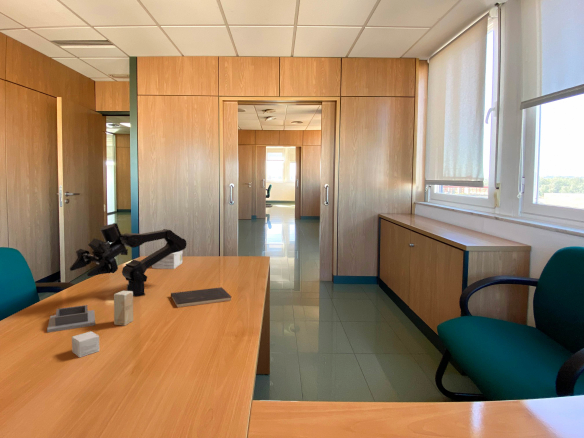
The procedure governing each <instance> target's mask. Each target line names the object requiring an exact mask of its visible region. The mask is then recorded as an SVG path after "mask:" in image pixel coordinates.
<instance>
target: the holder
mask: <svg viewBox="0 0 584 438" xmlns="http://www.w3.org/2000/svg"><path fill="white" fill-rule="evenodd" d="M92 326H96V316H95V310H94V309H91V310H88V304H85V305H83V304H82V305H77V306H70V307H68V306H67V307H61V308H56V312H55V314H54V315H50V316H49V321H48V325H47V328H46V329H47V330H46V332H47V334H48V333H53V332H58V331H59V332H60V331H67V330H71V329H72V330H73V329H78V328H84V327H85V328H86V327H92Z"/></svg>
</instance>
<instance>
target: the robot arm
mask: <svg viewBox="0 0 584 438" xmlns="http://www.w3.org/2000/svg"><path fill="white" fill-rule="evenodd" d="M99 230H100V234H101V235H102V237H103V239H104V241H103V240H101V239H98V238H93V239H92V240H91V241H89V243H88V247H90V248H91V249H92V251H91V253H90V251H89V250H86V249H83V248H79V249H78V250H76V252H75V253H76V260H75V261H74V262H73V264H72V265H71V266H70V267H69V271H70V272H72V271H73V272H74V271H76V270H79V269H82V268H85V267H87V266H88V265H90V264H91V263H92V262H93V263H95V264H97V265H96V266H95V267H94V268H93V269H91V270H90V271H89V272H87V276H88V277H92V276H98V275H104V274H105V275H106V274H115V273H116V272H118V270H119V266H118V262H117V259H116V257H118V256H119V255H121V256H128V254H129V252H128V251H129V249H128V248H137V247H140V246H143V245H144V244H145V243H149V242H155V241H159V240H160V241H161V240H164V241H165V242H166V244H165V245H164V246H162V247H161V248H159V249H157V250H156V251H154V252H152V253H153V254H152V253H151V254H150V255H147V256H146V257H144V258H143V259H141V260H138V259H137V260H136V259H132V260H131V261H129V262H128V263H125V265H124V266H123V267H122V270H121V273H122V276H123V278H125V280H126V281H127V284H126V291H132V292H133V298H134V297H140V296H141V297H142V296H145V295H146V293H145V282H147V280H148V275H146V274H145V273H146V271H147V270H148V269H149V268H152V265H154V264H156V263H157V262H159V261H160V260H162V259H163V258H165V257H167V256H168V255H170V254H171V253H175V252H179V251H182V250H183V251H184V250H185V249H186V248H187V240H186V239H185V238H182V237H181V236H179V235H178V234H177V233H174V231H172V230H171V229H167V228H164V229H161V230H156V231H149V232H144V233H135V232H132V233H131V232H129V233H128V232H127V233H126V232H125V233H121V230H120V228H119V225H118V223H115V222H114V223H110V224H107V225H105V224H104V225H103V226H101V227H100V228H99ZM127 247H128V248H127ZM92 254H93V255H92Z"/></svg>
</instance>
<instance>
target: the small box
mask: <svg viewBox="0 0 584 438" xmlns="http://www.w3.org/2000/svg"><path fill="white" fill-rule="evenodd" d="M71 352H72V353H73V355H74V354H75V355H76V356H77V357H78V358H83V357H85V356H88V355H92V354H95V353H97V352H100V336H99V334H98V333H97V334H96V333H95V332H93V331H87V332H85V333H80V334H76V335H74V336H71Z"/></svg>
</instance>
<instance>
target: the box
mask: <svg viewBox="0 0 584 438" xmlns="http://www.w3.org/2000/svg"><path fill="white" fill-rule="evenodd" d="M132 322H134V297H133V292H132V291H127V290H121V291H119V292H116V293H114V294H113V323H114V325H117V326H126V325H128V324H130V323H132Z"/></svg>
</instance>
